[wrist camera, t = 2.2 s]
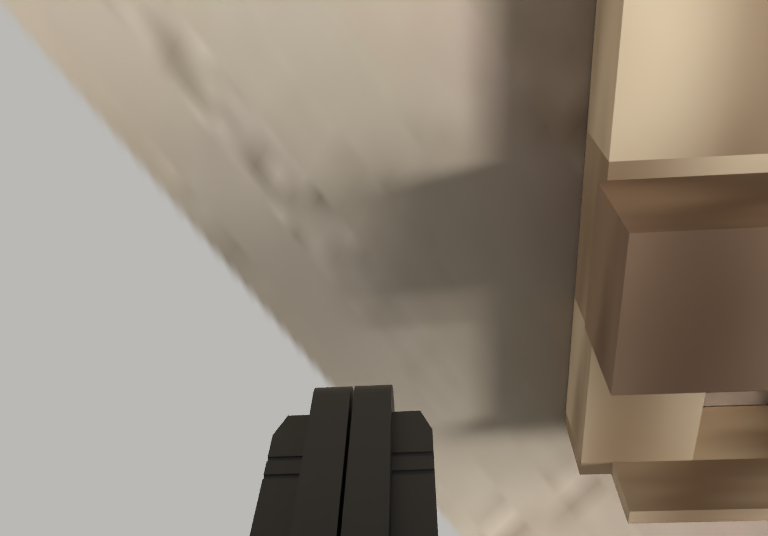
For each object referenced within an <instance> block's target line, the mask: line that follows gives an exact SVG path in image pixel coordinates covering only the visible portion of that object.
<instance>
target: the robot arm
mask: <svg viewBox="0 0 768 536" xmlns="http://www.w3.org/2000/svg"><path fill="white" fill-rule="evenodd" d="M250 536H438V528H437V508H436V489H435V472H434V453H433V435H432V428H431V427H430V425H429V424H428V422H427V421H426V419H425V418H424V416H423V414H422V413H421V411H403V412H395V410H394V397H393V387H392V385H376V386H355V388H354V390H353V387H327V388H315V389H314V393H313V398H312V404H311V410H310V415H297V416H296V415H295V416H288V417H287V418H286V419H285V420H284V422H283V423H282V424H281V425H280V427H279V428H278V429H277V430H276V432H275V433H274V434H273V437H272V441H271V446H270V450H269V454H268V461H267V463H266V467H265V472H264V479H263V480H262V484H261V489H260V493H259V498H258V502H257V506H256V511H255V515H254V519H253V524H252V528H251V532H250Z"/></svg>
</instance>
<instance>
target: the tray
mask: <svg viewBox="0 0 768 536" xmlns="http://www.w3.org/2000/svg"><path fill="white" fill-rule="evenodd" d="M765 172H768V0H597V3H596V17H595V30H594V43H593V57H592V70H591V83H590V97H589V110H588V124H587V137H586V150H585V164H584V177H583V190H582V204H581V217H580V230H579V244H578V257H577V270H576V284H575V297H574V311H573V324H572V337H571V351H570V364H569V377H568V391H567V404H566V417H565V424H566V427H567V431H568V434H569V438H570V441H571V445H572V448H573V452H574V455H575V459H576V462H577V466H578V469H579V473H580V475H581V474H612V477H613V480H614V483H615V486H616V489H617V492H618V495H619V498H620V501H621V504H622V507H623V510H624V513H625V516H626V519H627V522H628V523H668V522H715V521H762V520H768V405H758V406H725V407H703V404H704V399H705V394H706V393H679V394H648V395H617V396H611V394H610V392H609V389H608V387H607V384H606V381H605V379H604V376H603V374H602V371H601V368H600V366H599V363H598V361H597V358H596V356H595V353H594V350H593V348H592V345H591V343H590V340H589V338H588V335H587V332H586V330H585V319H586V307H587V296H588V284H589V272H590V260H591V249H592V237H593V225H594V213H595V202H596V190H597V181H606V180H626V179H646V178H666V177H686V176H705V175H725V174H745V173H765Z"/></svg>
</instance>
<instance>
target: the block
mask: <svg viewBox="0 0 768 536" xmlns="http://www.w3.org/2000/svg"><path fill="white" fill-rule="evenodd" d="M585 330H586V332H587V335H588V338H589V340H590V343H591V345H592V348H593V350H594V353H595V356H596V358H597V361H598V363H599V366H600V368H601V371H602V374H603V376H604V379H605V381H606V384H607V387H608V389H609V392H610V394H611V396H617V395H648V394H679V393H710V392H741V391H768V172H765V173H745V174H725V175H705V176H686V177H666V178H646V179H626V180H606V181H597V190H596V202H595V213H594V225H593V237H592V249H591V260H590V272H589V284H588V296H587V307H586V319H585Z"/></svg>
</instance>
